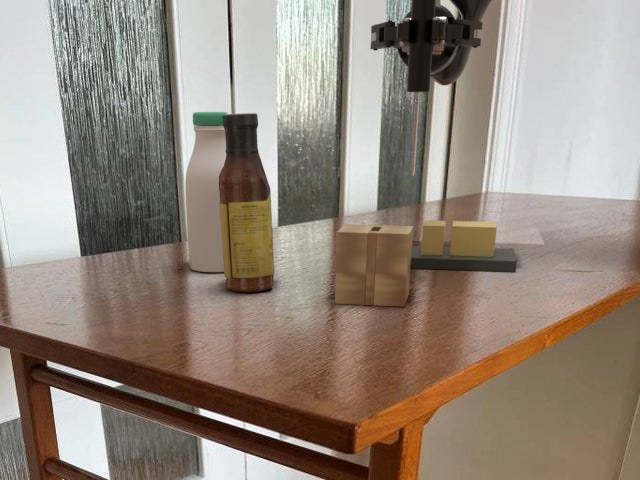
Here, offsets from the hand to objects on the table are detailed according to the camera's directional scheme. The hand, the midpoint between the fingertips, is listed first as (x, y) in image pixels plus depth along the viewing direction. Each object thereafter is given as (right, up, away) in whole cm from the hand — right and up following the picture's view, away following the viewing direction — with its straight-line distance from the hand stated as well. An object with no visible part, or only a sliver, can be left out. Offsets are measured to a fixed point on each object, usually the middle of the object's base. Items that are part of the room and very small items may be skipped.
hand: (420, 29), depth 82 cm
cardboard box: (-4, -28, +7) cm, 29 cm away
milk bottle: (-24, -19, +25) cm, 40 cm away
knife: (+1, -12, +9) cm, 15 cm away
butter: (+10, -18, +27) cm, 34 cm away
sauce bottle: (-19, -25, +13) cm, 34 cm away
